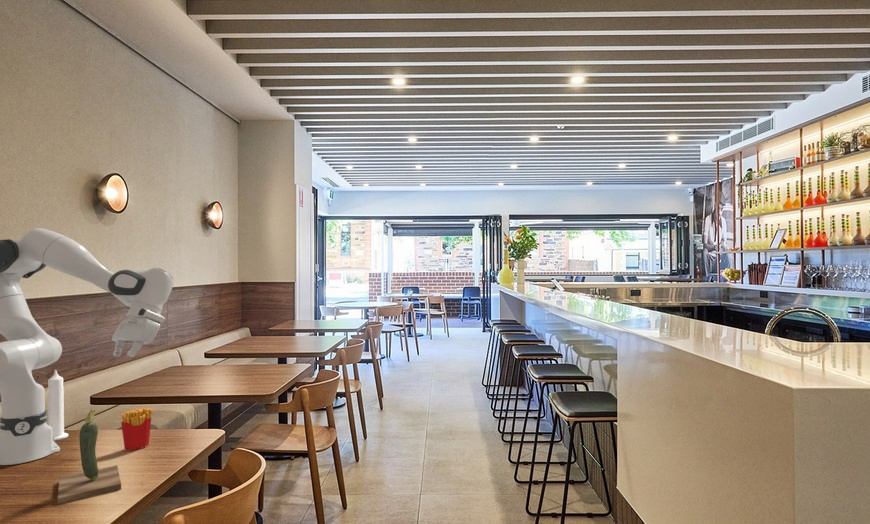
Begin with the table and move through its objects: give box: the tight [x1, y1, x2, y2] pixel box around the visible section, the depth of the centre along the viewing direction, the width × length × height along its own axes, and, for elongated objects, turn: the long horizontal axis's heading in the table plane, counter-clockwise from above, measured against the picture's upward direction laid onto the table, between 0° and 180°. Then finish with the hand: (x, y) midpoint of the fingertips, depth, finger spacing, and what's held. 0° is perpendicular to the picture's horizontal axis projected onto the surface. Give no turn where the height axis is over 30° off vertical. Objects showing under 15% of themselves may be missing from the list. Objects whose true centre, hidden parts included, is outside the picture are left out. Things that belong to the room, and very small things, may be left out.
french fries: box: [120, 407, 153, 451], centre depth 172 cm, size 9×4×13 cm, turn 131°
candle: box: [47, 369, 69, 442], centre depth 184 cm, size 7×7×25 cm
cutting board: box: [57, 464, 122, 505], centre depth 141 cm, size 17×14×2 cm
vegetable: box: [78, 407, 99, 480], centre depth 141 cm, size 4×4×20 cm
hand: (123, 356), depth 157 cm, fingers open, 8 cm apart
